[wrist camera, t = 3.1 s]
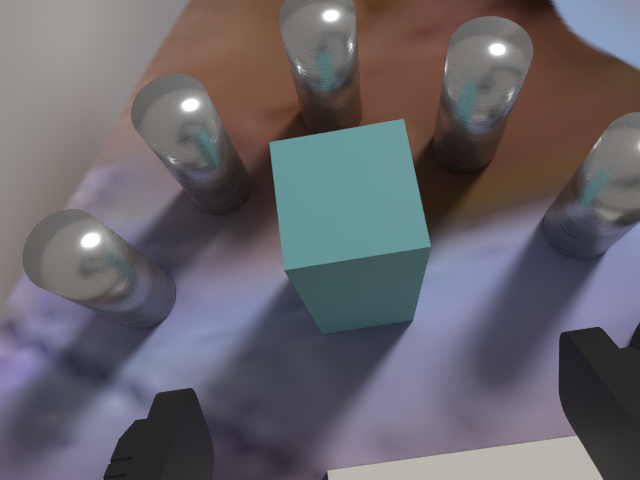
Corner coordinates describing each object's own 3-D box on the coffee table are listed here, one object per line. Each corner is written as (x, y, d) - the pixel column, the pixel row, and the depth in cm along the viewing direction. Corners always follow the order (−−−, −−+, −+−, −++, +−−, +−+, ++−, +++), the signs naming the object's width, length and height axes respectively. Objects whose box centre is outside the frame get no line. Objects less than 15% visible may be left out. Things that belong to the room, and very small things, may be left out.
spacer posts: (553, 48, 28) (605, -71, 21) (623, 253, 24) (712, 184, 18) (113, 127, 29) (34, 37, 23) (113, 333, 25) (20, 297, 19)
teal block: (396, 235, 26) (403, 118, 16) (412, 320, 24) (431, 246, 15) (311, 249, 26) (269, 142, 16) (322, 334, 24) (284, 270, 15)
